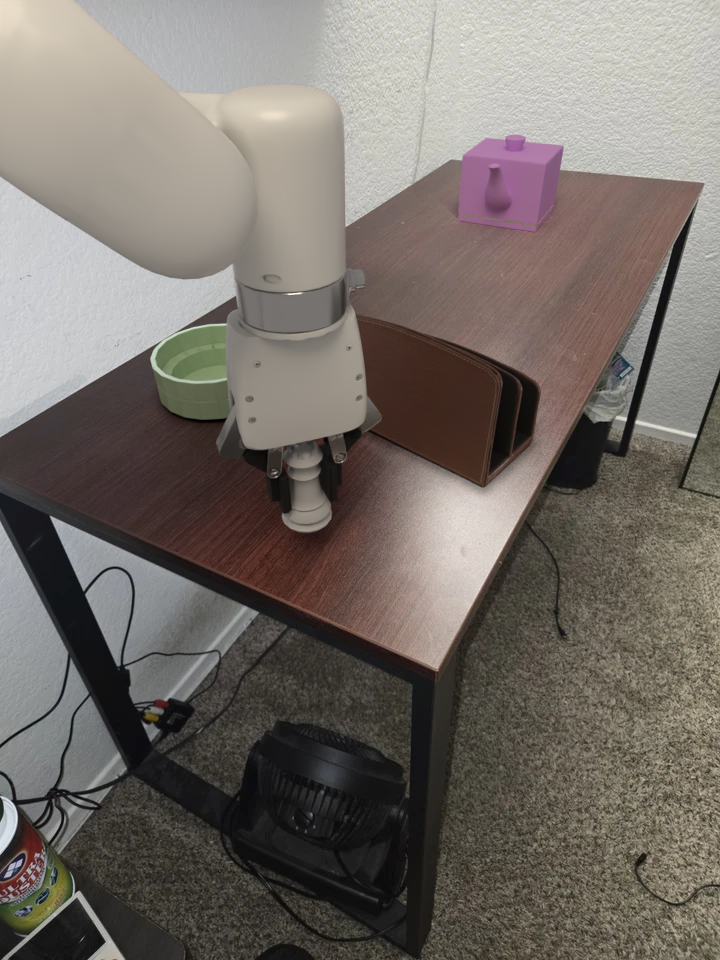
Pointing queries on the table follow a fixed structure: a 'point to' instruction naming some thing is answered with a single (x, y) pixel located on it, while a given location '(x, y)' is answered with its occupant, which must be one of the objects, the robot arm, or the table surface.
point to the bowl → (193, 372)
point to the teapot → (509, 182)
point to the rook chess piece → (306, 489)
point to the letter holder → (447, 400)
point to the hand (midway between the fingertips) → (305, 495)
